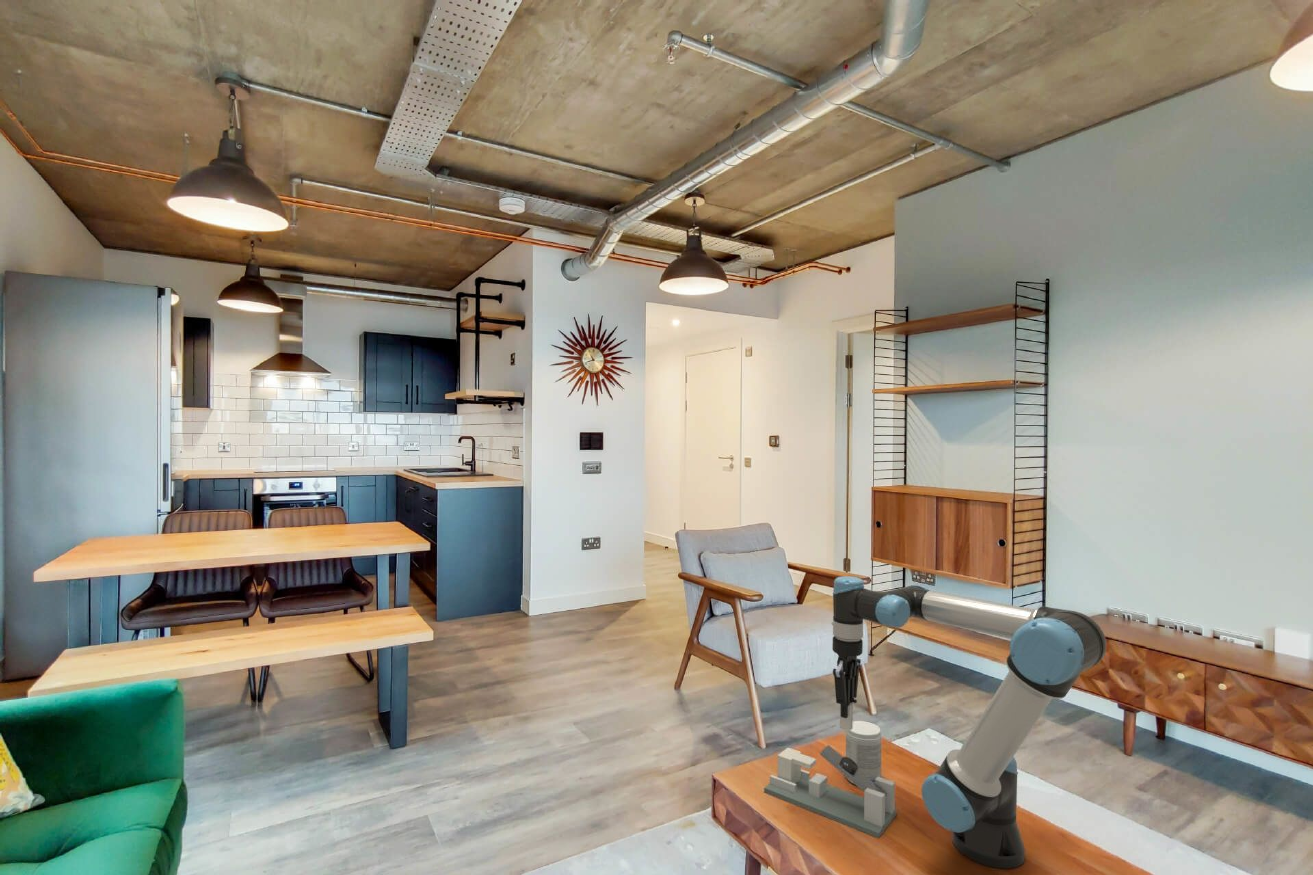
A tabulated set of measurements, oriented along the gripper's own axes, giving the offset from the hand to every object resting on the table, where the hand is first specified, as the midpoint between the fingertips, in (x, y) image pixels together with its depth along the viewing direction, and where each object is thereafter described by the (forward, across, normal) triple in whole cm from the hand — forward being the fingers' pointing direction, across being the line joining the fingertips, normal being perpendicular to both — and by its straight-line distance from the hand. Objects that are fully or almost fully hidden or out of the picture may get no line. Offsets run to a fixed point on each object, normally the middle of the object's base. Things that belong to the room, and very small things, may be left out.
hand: (846, 728), depth 167 cm
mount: (+20, +1, -4) cm, 21 cm away
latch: (+19, 0, -14) cm, 23 cm away
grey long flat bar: (+12, 0, +2) cm, 12 cm away
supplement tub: (+21, -16, -2) cm, 26 cm away
